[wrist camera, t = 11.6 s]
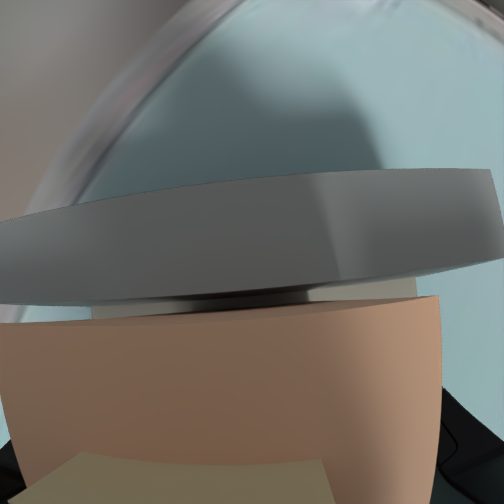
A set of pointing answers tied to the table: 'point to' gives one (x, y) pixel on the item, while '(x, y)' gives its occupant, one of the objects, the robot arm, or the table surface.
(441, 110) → the table surface
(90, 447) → the tan tall block
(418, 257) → the wall board
